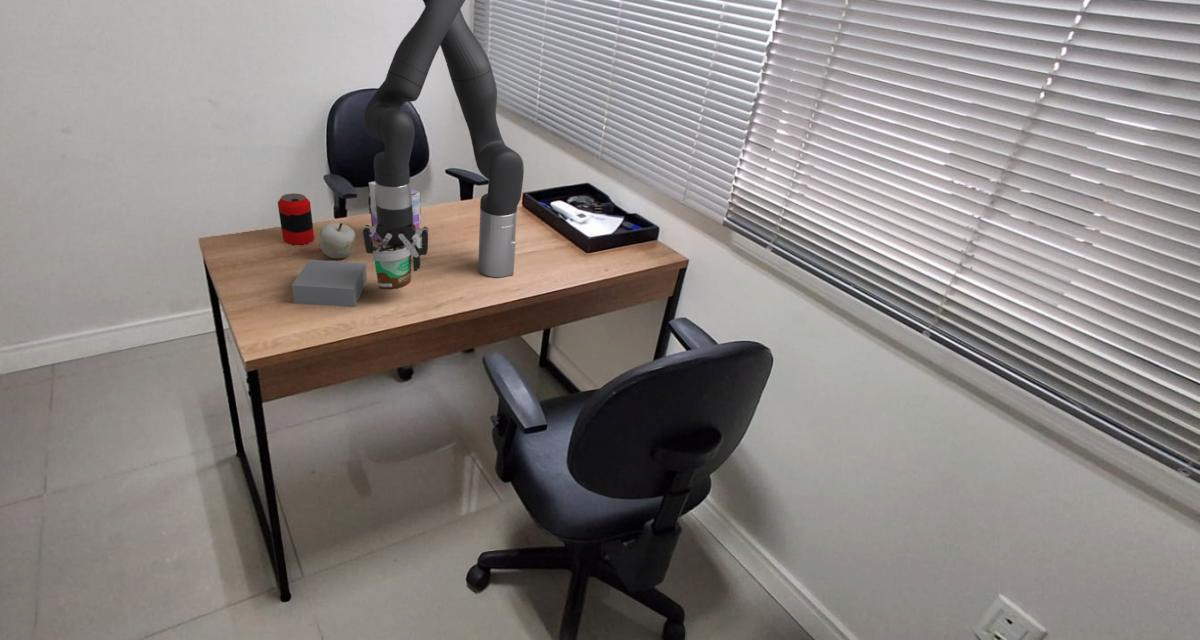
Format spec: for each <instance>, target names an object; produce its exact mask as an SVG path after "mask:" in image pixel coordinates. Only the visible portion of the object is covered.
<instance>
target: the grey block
mask: <svg viewBox="0 0 1200 640" xmlns="http://www.w3.org/2000/svg"><path fill="white" fill-rule="evenodd" d="M367 275H368V274H367V263H366V262H355V261H354V262H352V261H351V262H350V261H337V260H322V259H321V260H320V259H308V260H307V262H306V263H305V264H304V266H303V268H302V269H301V271H300V272H299V274H298V275H297V276H296V278H295V280H294V281H293V283H292V284H291V290H292V297H293V304H294V305H295V304H296V305H308V306H309V305H310V306H311V305H313V306H331V307H333V306H334V307H352V308H355V307H356V306H357V303H358V301H359V299H360V297H361V295H362V292H363V290H364V288H365V286H366V284H367V281H368V276H367Z"/></svg>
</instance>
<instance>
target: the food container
mask: <svg viewBox="0 0 1200 640" xmlns="http://www.w3.org/2000/svg"><path fill="white" fill-rule="evenodd" d="M412 256H413V254H412V253H411V252H410V250H408V249H407V247H406V246H405V245H404V246H398V245H394V246H389V244H387V245H386V247H385V249H381V250H379V251H378V252H377V251H373V254H372V261H374V265H375V266H374V267H375V273H376V278H377V279H376V280H377V285H378V289H379V290H384V291H385V290H387V291H388V290H390V291H391V290H399V289H402V288H404V287H407V286H409V285H410V283H411V281H412Z"/></svg>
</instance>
